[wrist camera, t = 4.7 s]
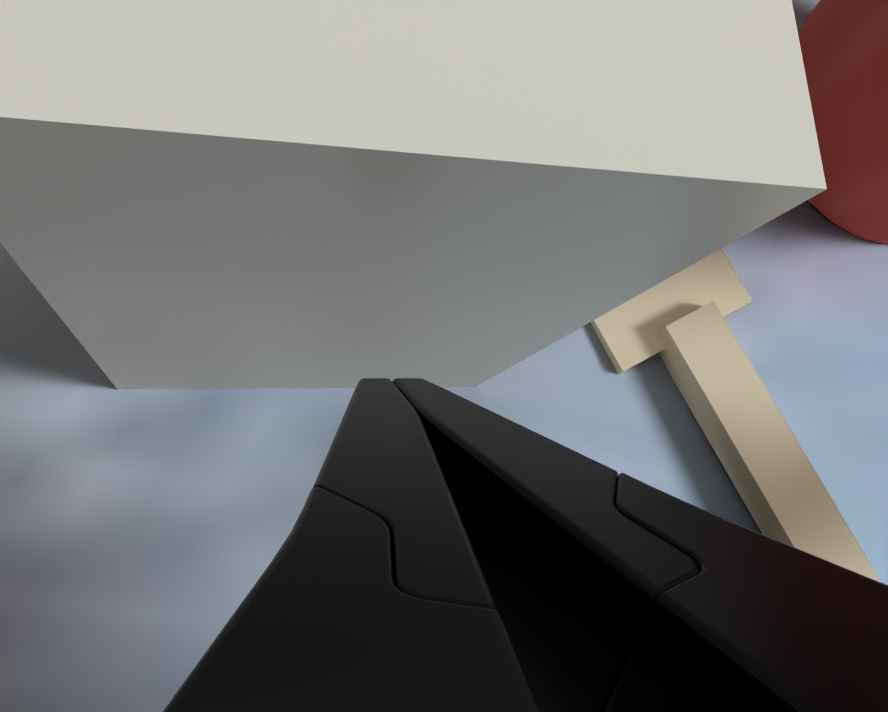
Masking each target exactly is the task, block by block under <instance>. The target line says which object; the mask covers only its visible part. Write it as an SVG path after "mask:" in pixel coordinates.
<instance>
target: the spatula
mask: <svg viewBox="0 0 888 712" xmlns="http://www.w3.org/2000/svg"><path fill="white" fill-rule="evenodd" d="M752 301H753V300H752V298H751V297H750V295H749V293H748V292H747V290H746V289H745V287H744V285H743V284H742V282H741V280H740V279H739V277H738V275H737V274H736V272H735V270H734V269H733V267H732V265H731V264H730V262H729V260H728V259H727V257H726V255H725V254H724V252H723V250H722V249H719V250H718V251H716V252H714V253H712V254H711V255H709V256H707V257H705V258H703V259H702V260H700V261H698V262H696V263H695V264H693V265H691V266H689V267H687V268H686V269H684V270H682V271H680V272H678V273H677V274H675V275H673V276H671V277H670V278H668V279H666V280H664V281H662V282H661V283H659V284H657V285H655V286H654V287H652V288H650V289H648V290H646V291H645V292H643V293H641V294H639V295H638V296H636V297H634V298H632V299H630V300H629V301H627V302H625V303H623V304H622V305H620V306H618V307H616V308H614V309H613V310H611V311H609V312H607V313H606V314H604V315H602V316H600V317H598V318H597V319H595V320H593V321H591V322H590V323H591V325H592V327H593V329H594V330H595V332H596V334H597V336H598V338H599V340H600V342H601V343H602V345H603V347H604V349H605V351H606V353H607V355H608V356H609V358H610V360H611V362H612V364H613V366H614V368H615V369H616V371H617V373H618V374H619V373H621V372H623V371H625V370H627V369H629V368H631V367H633V366H634V365H636V364H638V363H640V362H642V361H644V360H645V359H647V358H649V357H651V356H653V355H655V354H656V353H659V355H660V357H661V358H662V360H663V362H664V364H665V366H666V368H667V369H668V371H669V373H670V375H671V377H672V379H673V380H674V382H675V384H676V386H677V387H678V389H679V391H680V392H681V394H682V396H683V398H684V399H685V401H686V403H687V405H688V406H689V408H690V410H691V411H692V413H693V415H694V417H695V418H696V420H697V422H698V424H699V425H700V427H701V429H702V430H703V432H704V434H705V436H706V437H707V439H708V441H709V443H710V444H711V446H712V448H713V449H714V451H715V453H716V455H717V456H718V458H719V460H720V462H721V463H722V465H723V467H724V468H725V470H726V472H727V474H728V475H729V477H730V479H731V481H732V482H733V484H734V486H735V487H736V489H737V491H738V493H739V494H740V496H741V498H742V500H743V501H744V503H745V505H746V506H747V508H748V510H749V512H750V513H751V515H752V517H753V519H754V520H755V522H756V524H757V525H758V527H759V529H760V531H761V532H762V534H763V535H766V536H768V537H770V538H773V539H775V540H778V541H780V542H783V543H785V544H788V545H790V546H793V547H795V548H797V549H800V550H802V551H805V552H807V553H810V554H812V555H815V556H817V557H819V558H822V559H824V560H827V561H829V562H832V563H834V564H837V565H839V566H842V567H844V568H846V569H849V570H851V571H854V572H856V573H859V574H861V575H864V576H866V577H869V578H871V579H873V580H876V581H878V582H881V581H880V579H879V577H878V576H877V574H876V572H875V571H874V569H873V567H872V566H871V564H870V562H869V560H868V559H867V557H866V555H865V554H864V552H863V550H862V549H861V547H860V545H859V544H858V542H857V540H856V539H855V537H854V535H853V534H852V532H851V530H850V529H849V527H848V525H847V524H846V522H845V520H844V519H843V517H842V515H841V513H840V512H839V510H838V508H837V507H836V505H835V503H834V502H833V500H832V498H831V497H830V495H829V493H828V492H827V490H826V488H825V487H824V485H823V483H822V482H821V480H820V478H819V477H818V475H817V473H816V471H815V470H814V468H813V466H812V465H811V463H810V461H809V460H808V458H807V456H806V455H805V453H804V451H803V450H802V448H801V446H800V445H799V443H798V441H797V440H796V438H795V436H794V435H793V433H792V431H791V429H790V428H789V426H788V424H787V423H786V421H785V419H784V418H783V416H782V414H781V413H780V411H779V409H778V408H777V406H776V404H775V403H774V401H773V399H772V398H771V396H770V394H769V393H768V391H767V389H766V387H765V386H764V384H763V382H762V381H761V379H760V377H759V376H758V374H757V372H756V371H755V369H754V367H753V366H752V364H751V362H750V361H749V359H748V357H747V356H746V354H745V352H744V351H743V349H742V347H741V345H740V344H739V342H738V340H737V339H736V337H735V335H734V334H733V332H732V330H731V329H730V327H729V325H728V324H727V322H726V320H725V319H724V316H726V315H728V314H730V313H732V312H734V311H735V310H737V309H739V308H741V307H743V306H745V305H747V304H748V303H750V302H752ZM881 583H882V582H881Z"/></svg>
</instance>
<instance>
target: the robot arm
mask: <svg viewBox="0 0 888 712" xmlns="http://www.w3.org/2000/svg"><path fill="white" fill-rule="evenodd" d="M163 712H888V585H886V584H883V583H881V582H878V581H876V580H873V579H871V578H869V577H866V576H864V575H861V574H859V573H856V572H854V571H851V570H849V569H846V568H844V567H842V566H839V565H837V564H834V563H832V562H829V561H827V560H824V559H822V558H819V557H817V556H815V555H812V554H810V553H807V552H805V551H802V550H800V549H797V548H795V547H793V546H790V545H788V544H785V543H783V542H780V541H778V540H775V539H773V538H770V537H768V536H766V535H763V534H761V533H758V532H756V531H753V530H751V529H748V528H746V527H743V526H741V525H739V524H736V523H734V522H731V521H729V520H727V519H724V518H722V517H720V516H717V515H715V514H712V513H710V512H708V511H705V510H703V509H701V508H698V507H696V506H694V505H691V504H689V503H687V502H684V501H682V500H680V499H678V498H676V497H673V496H671V495H669V494H667V493H665V492H662V491H660V490H658V489H656V488H654V487H651V486H649V485H647V484H645V483H643V482H641V481H639V480H637V479H635V478H632V477H630V476H628V475H626V474H624V473H620V474H619V475H618V473H617V471H615V470H613V469H611V468H609V467H607V466H605V465H603V464H601V463H598V462H596V461H594V460H592V459H590V458H588V457H586V456H584V455H582V454H580V453H578V452H575V451H573V450H571V449H569V448H567V447H565V446H563V445H561V444H559V443H557V442H554V441H552V440H550V439H548V438H546V437H544V436H542V435H540V434H538V433H536V432H534V431H531V430H529V429H527V428H525V427H523V426H521V425H519V424H517V423H515V422H513V421H511V420H508V419H506V418H504V417H502V416H500V415H498V414H496V413H494V412H492V411H490V410H488V409H485V408H483V407H481V406H479V405H477V404H475V403H473V402H471V401H469V400H467V399H464V398H462V397H460V396H458V395H456V394H454V393H452V392H450V391H448V390H446V389H444V388H441V387H439V386H437V385H435V384H433V383H431V382H429V381H427V380H425V379H421V378H396V379H394V380H393V381H391V380H390V379H388V378H362V379H361V380H360V381H359V382H358V384H357V386H356V389H355V391H354V393H353V396H352V398H351V400H350V403H349V405H348V407H347V410H346V412H345V414H344V417H343V419H342V421H341V424H340V426H339V428H338V431H337V433H336V435H335V438H334V440H333V442H332V445H331V447H330V449H329V452H328V454H327V456H326V459H325V461H324V463H323V466H322V468H321V470H320V473H319V475H318V477H317V480H316V482H315V484H314V487H313V489H312V490H311V492H310V494H309V496H308V499H307V501H306V503H305V506H304V508H303V510H302V512H301V514H300V516H299V518H298V519H297V521H296V523H295V525H294V527H293V529H292V531H291V533H290V534H289V536H288V537H287V539H286V541H285V542H284V544H283V545H282V547H281V548H280V550H279V551H278V553H277V554H276V556H275V557H274V559H273V560H272V562H271V563H270V565H269V566H268V567H267V569H266V570H265V571H264V573H263V574H262V576H261V577H260V578H259V580H258V581H257V583H256V584H255V585H254V587H253V588H252V589H251V591H250V592H249V594H248V595H247V596H246V598H245V599H244V600H243V602H242V603H241V605H240V606H239V607H238V609H237V610H236V612H235V613H234V614H233V616H232V617H231V618H230V620H229V621H228V623H227V624H226V625H225V627H224V628H223V629H222V631H221V632H220V634H219V635H218V636H217V638H216V639H215V641H214V642H213V643H212V645H211V646H210V647H209V649H208V650H207V652H206V653H205V654H204V656H203V657H202V658H201V660H200V661H199V663H198V664H197V665H196V667H195V668H194V670H193V671H192V672H191V674H190V675H189V676H188V678H187V679H186V681H185V682H184V683H183V685H182V686H181V687H180V689H179V690H178V692H177V693H176V694H175V696H174V697H173V698H172V700H171V701H170V703H169V704H168V705H167V707H166V708H165V710H164V711H163Z"/></svg>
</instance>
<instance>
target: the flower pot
mask: <svg viewBox="0 0 888 712" xmlns="http://www.w3.org/2000/svg"><path fill="white" fill-rule="evenodd" d="M797 31H798V36H799V42H800V47H801V53H802V58H803V63H804V69H805V74H806V80H807V85H808V90H809V96H810V101H811V106H812V112H813V117H814V123H815V128H816V133H817V139H818V144H819V150H820V155H821V160H822V166H823V171H824V177H825V182H826V187H827V189H826V190H824V191H823V192H821V193H819V194H817V195H815V196H814V197H812V198H810V199H808V201H809V202H810V203H811V204H813V205H814V206H815V207H816V208H817V209H818V210H819V211H820V212H821V213H822V214H823V215H824V216H826V217H827V218H828V219H830V220H831V221H832V222H833V223H835V224H837V225H838V226H840V227H842V228H843V229H845V230H847V231H849V232H850V233H852V234H855V235H857V236H859V237H862V238H864V239H867V240H870V241H874V242H878V243H885V244H888V0H820V2H819V3H818V4H817V6H816V7H815V8H814V10H813V11H812V12H811V14H810V15H809V16H808V17H807V19H806V20H805V21H804V23H803V24H802V25H801V27H800V28H799V29H798V30H797Z"/></svg>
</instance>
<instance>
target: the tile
mask: <svg viewBox="0 0 888 712" xmlns="http://www.w3.org/2000/svg"><path fill="white" fill-rule="evenodd" d="M826 189H827V187H826V182H825V177H824V171H823V166H822V160H821V155H820V150H819V144H818V139H817V133H816V128H815V123H814V117H813V112H812V106H811V101H810V96H809V90H808V85H807V80H806V74H805V69H804V63H803V58H802V53H801V47H800V42H799V36H798V31H797V26H796V20H795V15H794V9H793V4H792V0H0V243H1V245H2V246H3V247H4V248H5V250H6V251H7V252H8V253H9V255H10V256H11V257H12V258H13V260H14V261H15V262H16V263H17V265H18V266H19V267H20V268H21V270H22V271H23V272H24V273H25V275H26V276H27V277H28V278H29V280H30V281H31V282H32V283H33V285H34V286H35V287H36V288H37V290H38V291H39V292H40V293H41V295H42V296H43V297H44V298H45V299H46V301H47V302H48V303H49V304H50V306H51V307H52V308H53V309H54V311H55V312H56V313H57V314H58V316H59V317H60V318H61V319H62V321H63V322H64V323H65V324H66V326H67V327H68V328H69V329H70V331H71V332H72V333H73V334H74V336H75V337H76V338H77V339H78V341H79V342H80V343H81V344H82V346H83V347H84V348H85V349H86V351H87V352H88V353H89V354H90V356H91V357H92V358H93V359H94V361H95V362H96V363H97V364H98V365H99V367H100V368H101V369H102V370H103V372H104V373H105V374H106V375H107V377H108V378H109V379H110V380H111V382H112V383H113V384H114V385H115V387H116V388H117V389H118V390H120V389H239V388H356V386H357V384H358V382H359V381H360V380H361V379H362V378H388V379H390V380H391V381H393V380H394V379H396V378H421V379H425V380H427V381H429V382H431V383H433V384H435V385H437V386H439V387H476V386H478V385H479V384H481V383H483V382H485V381H486V380H488V379H490V378H492V377H494V376H495V375H497V374H499V373H501V372H502V371H504V370H506V369H508V368H510V367H511V366H513V365H515V364H517V363H518V362H520V361H522V360H524V359H526V358H527V357H529V356H531V355H533V354H534V353H536V352H538V351H540V350H542V349H543V348H545V347H547V346H549V345H550V344H552V343H554V342H556V341H558V340H559V339H561V338H563V337H565V336H566V335H568V334H570V333H572V332H574V331H575V330H577V329H579V328H581V327H582V326H584V325H586V324H588V323H590V322H591V321H593V320H595V319H597V318H598V317H600V316H602V315H604V314H606V313H607V312H609V311H611V310H613V309H614V308H616V307H618V306H620V305H622V304H623V303H625V302H627V301H629V300H630V299H632V298H634V297H636V296H638V295H639V294H641V293H643V292H645V291H646V290H648V289H650V288H652V287H654V286H655V285H657V284H659V283H661V282H662V281H664V280H666V279H668V278H670V277H671V276H673V275H675V274H677V273H678V272H680V271H682V270H684V269H686V268H687V267H689V266H691V265H693V264H695V263H696V262H698V261H700V260H702V259H703V258H705V257H707V256H709V255H711V254H712V253H714V252H716V251H718V250H719V249H721V248H723V247H725V246H727V245H728V244H730V243H732V242H734V241H735V240H737V239H739V238H741V237H743V236H744V235H746V234H748V233H750V232H751V231H753V230H755V229H757V228H759V227H760V226H762V225H764V224H766V223H767V222H769V221H771V220H773V219H775V218H776V217H778V216H780V215H782V214H783V213H785V212H787V211H789V210H791V209H792V208H794V207H796V206H798V205H799V204H801V203H803V202H805V201H807V200H808V199H810V198H812V197H814V196H815V195H817V194H819V193H821V192H823V191H824V190H826Z"/></svg>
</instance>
